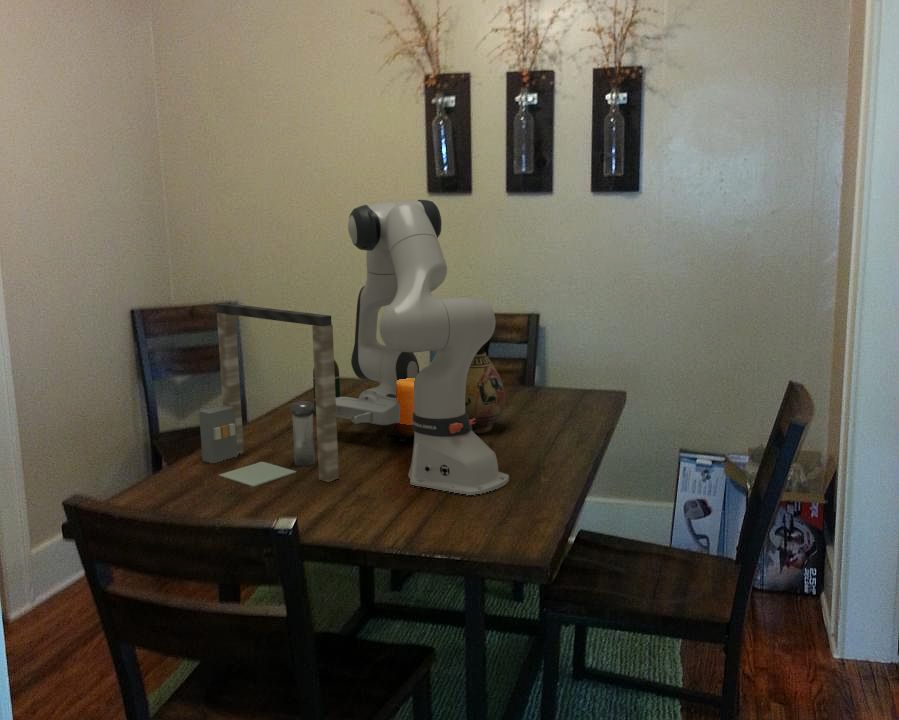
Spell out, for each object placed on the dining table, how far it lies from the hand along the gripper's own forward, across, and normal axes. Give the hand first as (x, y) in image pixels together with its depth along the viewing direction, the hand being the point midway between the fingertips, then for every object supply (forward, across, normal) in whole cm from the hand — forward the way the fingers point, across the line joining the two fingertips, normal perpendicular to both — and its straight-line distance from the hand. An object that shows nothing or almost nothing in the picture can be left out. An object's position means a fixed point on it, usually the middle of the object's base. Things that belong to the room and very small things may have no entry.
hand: (338, 417), depth 213 cm
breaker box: (+20, -19, +8) cm, 29 cm away
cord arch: (+17, -4, +8) cm, 19 cm away
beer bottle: (-24, -26, +8) cm, 37 cm away
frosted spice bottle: (+12, 0, +8) cm, 15 cm away
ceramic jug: (-34, +18, +8) cm, 39 cm away
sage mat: (+24, -3, +8) cm, 25 cm away
